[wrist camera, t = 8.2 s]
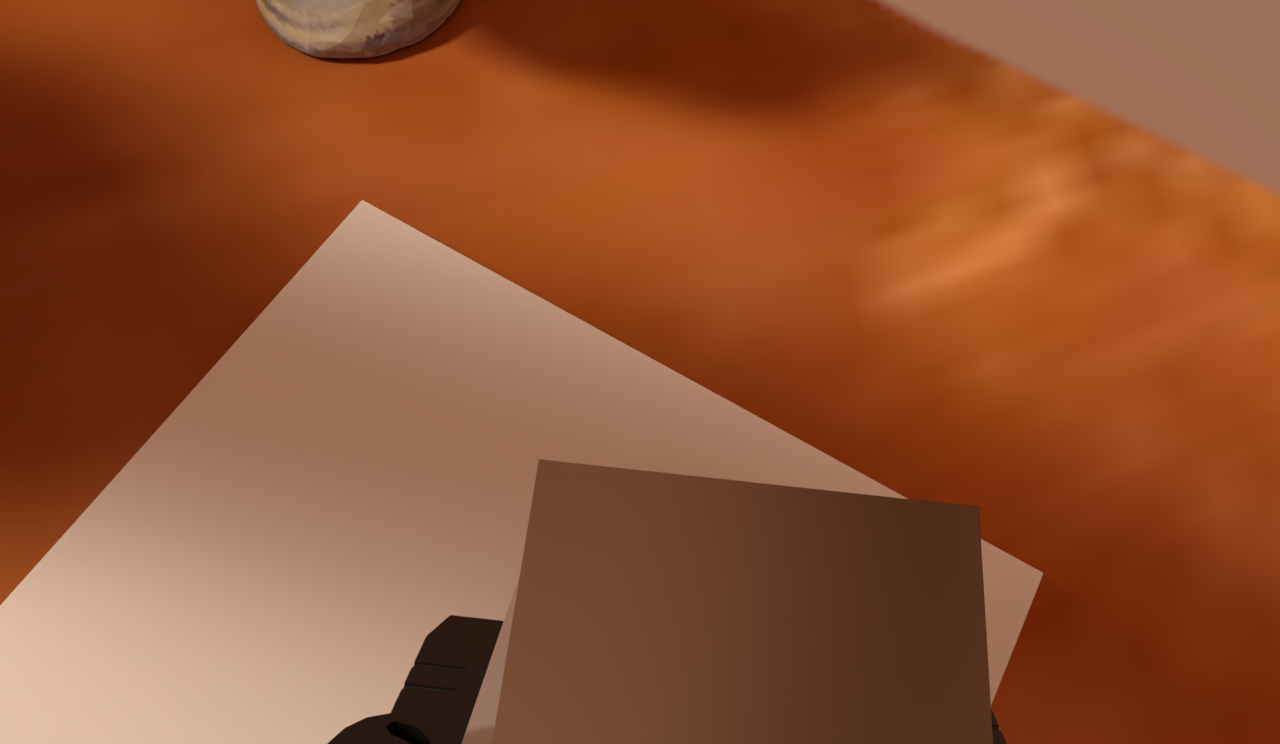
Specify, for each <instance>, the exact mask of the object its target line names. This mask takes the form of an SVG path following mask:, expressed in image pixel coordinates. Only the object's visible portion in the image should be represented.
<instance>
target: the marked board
mask: <svg viewBox="0 0 1280 744" xmlns="http://www.w3.org/2000/svg"><path fill="white" fill-rule="evenodd" d="M539 459H541V460H551V461H560V462H569V463H579V464H588V465H597V466H606V467H616V468H625V469H634V470H643V471H653V472H662V473H671V474H680V475H690V476H699V477H708V478H717V479H727V480H736V481H745V482H754V483H764V484H773V485H782V486H791V487H801V488H810V489H819V490H828V491H838V492H847V493H856V494H865V495H875V496H884V497H893V498H902V499H907V498H906V497H904V496H902V495H900V494H898V493H897V492H895V491H893V490H891V489H889V488H887V487H886V486H884V485H882V484H880V483H878V482H876V481H875V480H873V479H871V478H869V477H867V476H865V475H864V474H862V473H860V472H858V471H856V470H855V469H853V468H851V467H849V466H847V465H845V464H844V463H842V462H840V461H838V460H836V459H834V458H833V457H831V456H829V455H827V454H825V453H823V452H822V451H820V450H818V449H816V448H814V447H813V446H811V445H809V444H807V443H805V442H803V441H802V440H800V439H798V438H796V437H794V436H792V435H791V434H789V433H787V432H785V431H783V430H781V429H780V428H778V427H776V426H774V425H772V424H771V423H769V422H767V421H765V420H763V419H761V418H760V417H758V416H756V415H754V414H752V413H750V412H749V411H747V410H745V409H743V408H741V407H739V406H738V405H736V404H734V403H732V402H730V401H729V400H727V399H725V398H723V397H721V396H719V395H718V394H716V393H714V392H712V391H710V390H708V389H707V388H705V387H703V386H701V385H699V384H697V383H696V382H694V381H692V380H690V379H688V378H687V377H685V376H683V375H681V374H679V373H677V372H676V371H674V370H672V369H670V368H668V367H666V366H665V365H663V364H661V363H659V362H657V361H655V360H654V359H652V358H650V357H648V356H646V355H645V354H643V353H641V352H639V351H637V350H635V349H634V348H632V347H630V346H628V345H626V344H624V343H623V342H621V341H619V340H617V339H615V338H613V337H612V336H610V335H608V334H606V333H604V332H603V331H601V330H599V329H597V328H595V327H593V326H592V325H590V324H588V323H586V322H584V321H582V320H581V319H579V318H577V317H575V316H573V315H571V314H570V313H568V312H566V311H564V310H562V309H561V308H559V307H557V306H555V305H553V304H551V303H550V302H548V301H546V300H544V299H542V298H540V297H539V296H537V295H535V294H533V293H531V292H529V291H528V290H526V289H524V288H522V287H520V286H519V285H517V284H515V283H513V282H511V281H509V280H508V279H506V278H504V277H502V276H500V275H498V274H497V273H495V272H493V271H491V270H489V269H487V268H486V267H484V266H482V265H480V264H478V263H477V262H475V261H473V260H471V259H469V258H467V257H466V256H464V255H462V254H460V253H458V252H456V251H455V250H453V249H451V248H449V247H447V246H445V245H444V244H442V243H440V242H438V241H436V240H435V239H433V238H431V237H429V236H427V235H425V234H424V233H422V232H420V231H418V230H416V229H414V228H413V227H411V226H409V225H407V224H405V223H403V222H402V221H400V220H398V219H396V218H394V217H393V216H391V215H389V214H387V213H385V212H383V211H382V210H380V209H378V208H376V207H374V206H372V205H371V204H369V203H367V202H365V201H363V200H362V201H361V202H360V203H359V204H358V205H357V206H356V207H355V208H354V210H353V211H352V212H351V213H350V214H349V215H348V216H347V217H346V219H345V220H344V221H343V222H342V223H341V224H340V225H339V226H338V227H337V229H336V230H335V231H334V232H333V233H332V234H331V235H330V236H329V238H328V239H327V240H326V241H325V242H324V243H323V244H322V245H321V247H320V248H319V249H318V250H317V251H316V252H315V253H314V254H313V256H312V257H311V258H310V259H309V260H308V261H307V262H306V263H305V264H304V266H303V267H302V268H301V269H300V270H299V271H298V272H297V273H296V275H295V276H294V277H293V278H292V279H291V280H290V281H289V282H288V284H287V285H286V286H285V287H284V288H283V289H282V290H281V291H280V292H279V294H278V295H277V296H276V297H275V298H274V299H273V300H272V301H271V303H270V304H269V305H268V306H267V307H266V308H265V309H264V310H263V312H262V313H261V314H260V315H259V316H258V317H257V318H256V319H255V321H254V322H253V323H252V324H251V325H250V326H249V327H248V328H247V329H246V331H245V332H244V333H243V334H242V335H241V336H240V337H239V338H238V340H237V341H236V342H235V343H234V344H233V345H232V346H231V347H230V349H229V350H228V351H227V352H226V353H225V354H224V355H223V356H222V358H221V359H220V360H219V361H218V362H217V363H216V364H215V365H214V366H213V368H212V369H211V370H210V371H209V372H208V373H207V374H206V375H205V377H204V378H203V379H202V380H201V381H200V382H199V383H198V384H197V386H196V387H195V388H194V389H193V390H192V391H191V392H190V393H189V395H188V396H187V397H186V398H185V399H184V400H183V401H182V402H181V403H180V405H179V406H178V407H177V408H176V409H175V410H174V411H173V412H172V414H171V415H170V416H169V417H168V418H167V419H166V420H165V421H164V423H163V424H162V425H161V426H160V427H159V428H158V429H157V430H156V431H155V433H154V434H153V435H152V436H151V437H150V438H149V439H148V440H147V442H146V443H145V444H144V445H143V446H142V447H141V448H140V449H139V451H138V452H137V453H136V454H135V455H134V456H133V457H132V458H131V460H130V461H129V462H128V463H127V464H126V465H125V466H124V467H123V468H122V470H121V471H120V472H119V473H118V474H117V475H116V476H115V477H114V479H113V480H112V481H111V482H110V483H109V484H108V485H107V486H106V488H105V489H104V490H103V491H102V492H101V493H100V494H99V495H98V497H97V498H96V499H95V500H94V501H93V502H92V503H91V504H90V505H89V507H88V508H87V509H86V510H85V511H84V512H83V513H82V514H81V516H80V517H79V518H78V519H77V520H76V521H75V522H74V523H73V525H72V526H71V527H70V528H69V529H68V530H67V531H66V532H65V534H64V535H63V536H62V537H61V538H60V539H59V540H58V541H57V542H56V544H55V545H54V546H53V547H52V548H51V549H50V550H49V551H48V553H47V554H46V555H45V556H44V557H43V558H42V559H41V560H40V562H39V563H38V564H37V565H36V566H35V567H34V568H33V569H32V570H31V572H30V573H29V574H28V575H27V576H26V577H25V578H24V579H23V581H22V582H21V583H20V584H19V585H18V586H17V587H16V588H15V590H14V591H13V592H12V593H11V594H10V595H9V596H8V597H7V599H6V600H5V601H4V602H3V603H2V604H1V605H0V744H327V743H328V742H330V741H331V740H332V739H333V738H334V737H335V736H336V735H337V734H338V733H340V732H341V731H342V730H343V729H344V728H345V727H348V726H350V725H352V724H354V723H356V722H358V721H360V720H362V719H364V718H367V717H372V716H377V715H383V714H389V713H391V711H392V709H393V707H394V704H395V702H396V700H397V698H398V696H399V694H400V692H401V689H403V688H404V683H405V681H406V679H407V677H408V674H409V672H410V670H411V668H412V667H414V662H415V659H416V657H417V655H418V653H419V651H420V649H421V647H422V644H423V642H424V640H425V638H426V636H427V635H428V634H429V633H430V632H432V631H433V630H434V629H435V628H436V627H437V626H438V625H440V624H441V623H442V622H443V621H444V620H445V619H446V618H448V617H449V616H450V615H455V616H464V617H473V618H482V619H491V620H500V621H504V619H505V616H506V613H507V610H508V607H509V604H510V601H511V598H512V595H513V592H514V589H515V587H516V584H517V581H518V578H519V575H520V571H521V565H522V559H523V553H524V547H525V541H526V535H527V528H528V522H529V516H530V510H531V504H532V498H533V492H534V486H535V480H536V474H537V468H538V462H539ZM981 549H982V566H983V583H984V600H985V616H986V633H987V650H988V667H989V684H990V701H991V705H992V702H993V700H994V697H995V695H996V692H997V690H998V687H999V684H1000V682H1001V679H1002V677H1003V674H1004V672H1005V669H1006V667H1007V664H1008V662H1009V659H1010V657H1011V654H1012V652H1013V649H1014V647H1015V644H1016V641H1017V639H1018V636H1019V634H1020V631H1021V629H1022V626H1023V624H1024V621H1025V619H1026V616H1027V614H1028V611H1029V609H1030V606H1031V603H1032V601H1033V598H1034V596H1035V593H1036V591H1037V588H1038V586H1039V583H1040V581H1041V578H1042V576H1043V572H1041V571H1039V570H1037V569H1035V568H1033V567H1032V566H1030V565H1028V564H1026V563H1024V562H1023V561H1021V560H1019V559H1017V558H1015V557H1013V556H1012V555H1010V554H1008V553H1006V552H1004V551H1002V550H1001V549H999V548H997V547H995V546H993V545H991V544H990V543H988V542H986V541H984V540H982V539H981Z"/></svg>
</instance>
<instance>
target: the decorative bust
mask: <svg viewBox="0 0 1280 744" xmlns="http://www.w3.org/2000/svg"><path fill="white" fill-rule="evenodd" d="M256 2H257V5H258V8H259V11H260V13H261V15H262V17H263V18H264V20H265V22H266V23H267V25H268V26H269V28H270V29H271V30H272V31H273V32H274V33H275V35H276V36H277V37H278V38H279V39H280V40H281V41H282V42H284V43H286V44H288V45H290V46H292V47H293V48H295V49H297V50H299V51H301V52H303V53H306V54H308V55H310V56H313V57H318V58H369V57H376V56H381V55H385V54H388V53H390V52H392V51H395V50H398V49H401V48H404V47H406V46H410V45H413V44H415V43H417V42H419V41H421V40H423V39H424V38H426V37H427V36H428V35H429V34H430V33H432V32H433V31H434V30H436V29H437V28H438V27H439V26H440V25H441V24H443V23H444V21H445V20H446V18H447V17H448V18H449V17H450V15H451V14H452V13H453V11H454V10H455V8H456V7H457V5H458V4H459V2H460V0H256ZM448 15H449V16H448Z"/></svg>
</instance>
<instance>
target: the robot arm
mask: <svg viewBox="0 0 1280 744" xmlns="http://www.w3.org/2000/svg"><path fill="white" fill-rule="evenodd" d="M519 577H520V575H519ZM518 583H519V578H518V581H517V584H516V587H515V589H514V592H513V595H512V598H511V601H510V604H509V607H508V610H507V613H506V616H505V619H504V621H500V620H491V619H482V618H473V617H464V616H455V615H450V616H449V617H448V618H446V619H445V620H444V621H443V622H442V623H441V624H440V625H438V626H437V627H436V628H435V629H434V630H433V631H432V632H430V633H429V634H428V635H427V636H426V638H425V640H424V642H423V644H422V647H421V649H420V651H419V653H418V655H417V657H416V659H415V662H414V667H412V668H411V670H410V672H409V674H408V677H407V679H406V681H405V683H404V688H403V689H401V692H400V694H399V696H398V698H397V700H396V702H395V704H394V707H393V709H392V711H391V713H389V714H383V715H377V716H372V717H367V718H364V719H362V720H360V721H358V722H356V723H354V724H352V725H350V726H348V727H345V728H344V729H343V730H342V731H341V732H340V733H338V734H337V735H336V736H335V737H334V738H333V739H332V740H331V741H330V742H328V743H327V744H492V742H493V735H494V729H495V723H496V717H497V711H498V705H499V699H500V693H501V687H502V681H503V675H504V669H505V662H506V656H507V650H508V644H509V638H510V632H511V626H512V620H513V614H514V608H515V602H516V595H517V589H518ZM991 717H992V734H993V744H1007V743H1006V741H1005V739H1004V736H1003V734H1002V732H1001V731H999V730H998V723H997V721H996V719H995V716H994V714H993V712H992V710H991Z"/></svg>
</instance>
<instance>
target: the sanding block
mask: <svg viewBox="0 0 1280 744" xmlns="http://www.w3.org/2000/svg"><path fill="white" fill-rule="evenodd" d="M492 744H993V734H992V717H991V701H990V684H989V667H988V650H987V633H986V616H985V600H984V583H983V566H982V549H981V532H980V515H979V507H976V506H967V505H958V504H949V503H939V502H930V501H921V500H912V499H902V498H893V497H884V496H875V495H865V494H856V493H847V492H838V491H828V490H819V489H810V488H801V487H791V486H782V485H773V484H764V483H754V482H745V481H736V480H727V479H717V478H708V477H699V476H690V475H680V474H671V473H662V472H653V471H643V470H634V469H625V468H616V467H606V466H597V465H588V464H579V463H569V462H560V461H551V460H541V459H539V462H538V468H537V474H536V480H535V486H534V492H533V498H532V504H531V510H530V516H529V522H528V528H527V535H526V541H525V547H524V553H523V559H522V565H521V571H520V577H519V583H518V589H517V595H516V602H515V608H514V614H513V620H512V626H511V632H510V638H509V644H508V650H507V656H506V662H505V669H504V675H503V681H502V687H501V693H500V699H499V705H498V711H497V717H496V723H495V729H494V735H493V742H492Z"/></svg>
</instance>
